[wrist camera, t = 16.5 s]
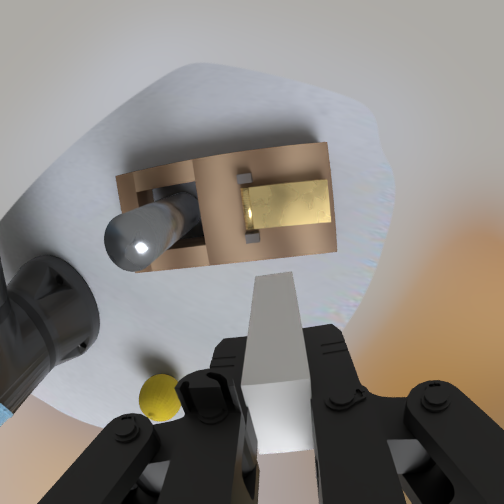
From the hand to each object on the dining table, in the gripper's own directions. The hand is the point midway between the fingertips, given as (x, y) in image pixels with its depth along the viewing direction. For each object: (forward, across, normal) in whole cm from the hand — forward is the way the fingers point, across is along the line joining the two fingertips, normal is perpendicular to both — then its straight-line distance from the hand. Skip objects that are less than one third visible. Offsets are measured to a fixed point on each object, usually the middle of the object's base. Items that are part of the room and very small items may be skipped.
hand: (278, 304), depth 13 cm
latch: (+15, +1, +2) cm, 15 cm away
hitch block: (+19, -4, +2) cm, 20 cm away
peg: (+20, -9, +2) cm, 22 cm away
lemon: (+20, -17, -19) cm, 32 cm away
